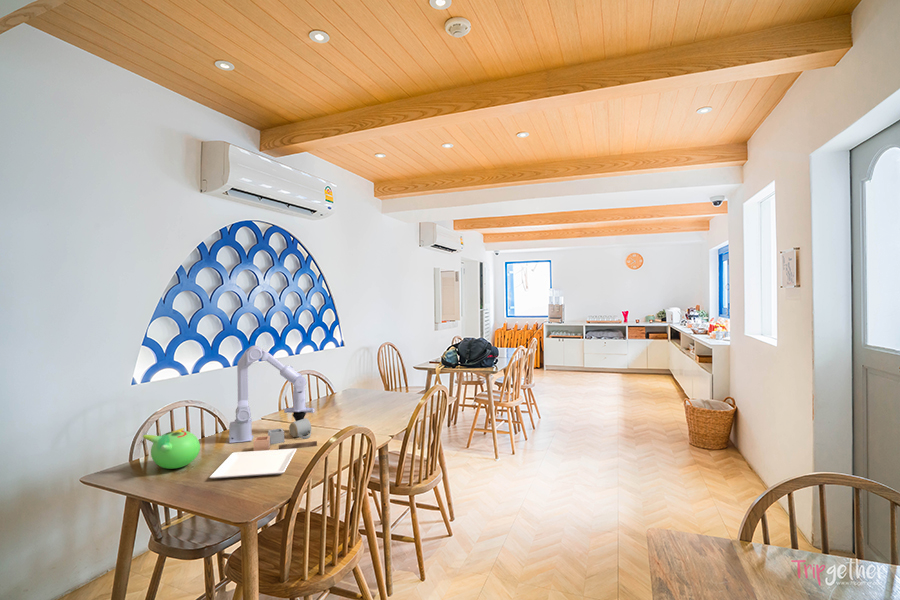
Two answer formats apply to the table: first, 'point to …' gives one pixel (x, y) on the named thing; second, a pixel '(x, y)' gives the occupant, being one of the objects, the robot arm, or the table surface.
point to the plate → (254, 463)
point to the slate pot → (276, 436)
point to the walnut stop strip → (298, 445)
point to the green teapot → (174, 448)
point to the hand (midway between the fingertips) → (299, 427)
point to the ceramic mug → (300, 428)
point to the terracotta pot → (262, 443)
